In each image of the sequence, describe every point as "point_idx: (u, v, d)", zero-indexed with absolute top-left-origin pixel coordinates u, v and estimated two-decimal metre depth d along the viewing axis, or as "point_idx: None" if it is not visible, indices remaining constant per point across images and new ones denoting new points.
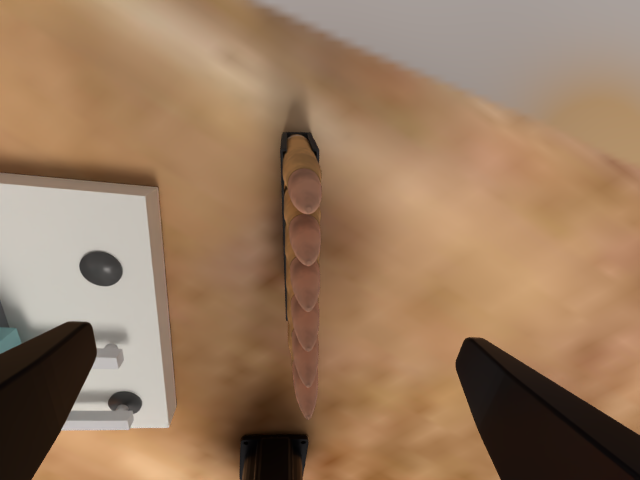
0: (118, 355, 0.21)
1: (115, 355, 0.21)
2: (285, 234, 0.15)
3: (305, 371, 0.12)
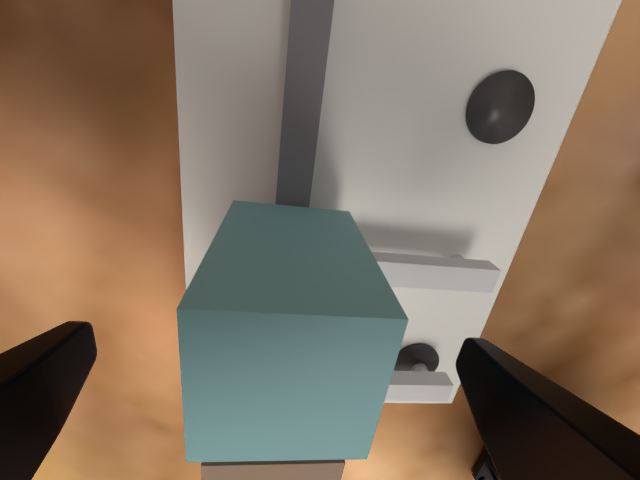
0: None
1: (493, 267, 0.12)
2: None
3: None
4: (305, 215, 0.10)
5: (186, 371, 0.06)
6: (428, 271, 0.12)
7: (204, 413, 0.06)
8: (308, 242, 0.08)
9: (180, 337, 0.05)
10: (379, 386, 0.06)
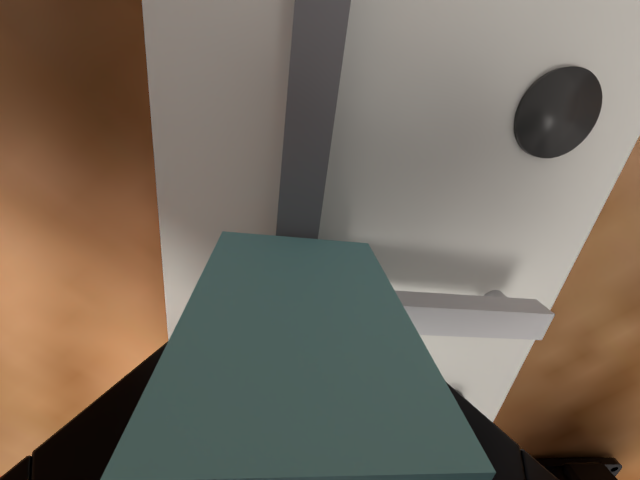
0: None
1: (544, 309, 0.10)
2: None
3: None
4: (314, 252, 0.08)
5: None
6: (465, 317, 0.09)
7: None
8: (321, 300, 0.06)
9: None
10: None
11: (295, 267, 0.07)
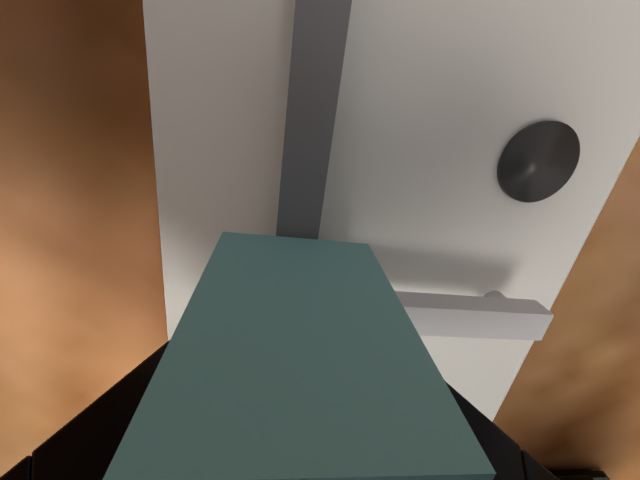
0: (548, 311, 0.10)
1: (544, 310, 0.10)
2: None
3: None
4: (314, 252, 0.08)
5: None
6: (465, 317, 0.09)
7: None
8: (321, 301, 0.06)
9: None
10: None
11: (295, 268, 0.07)
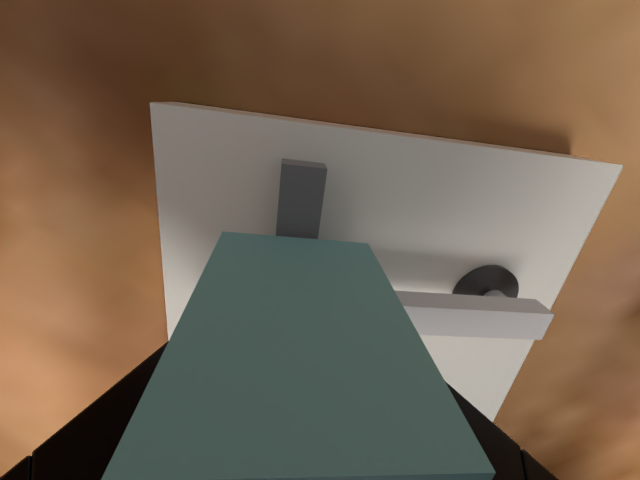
0: None
1: (544, 309, 0.10)
2: None
3: None
4: (314, 251, 0.08)
5: None
6: (465, 317, 0.09)
7: None
8: (321, 300, 0.06)
9: None
10: None
11: (295, 267, 0.07)
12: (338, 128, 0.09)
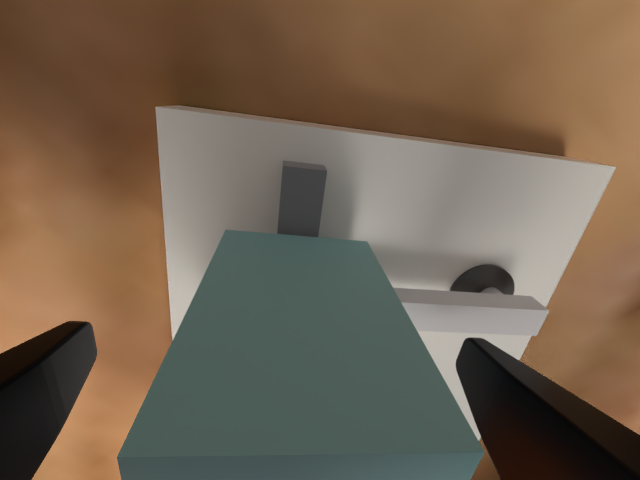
0: None
1: (539, 306, 0.10)
2: None
3: None
4: (314, 249, 0.08)
5: None
6: (462, 313, 0.10)
7: None
8: (321, 295, 0.06)
9: None
10: None
11: (296, 264, 0.07)
12: (338, 131, 0.09)
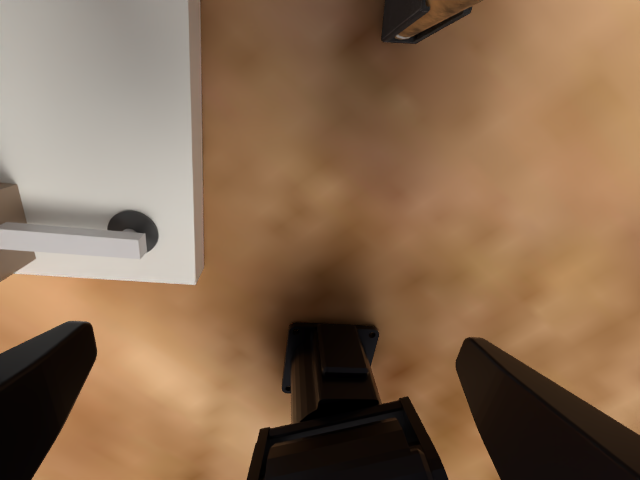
0: None
1: None
2: None
3: None
4: None
5: None
6: None
7: None
8: None
9: None
10: None
11: None
12: None
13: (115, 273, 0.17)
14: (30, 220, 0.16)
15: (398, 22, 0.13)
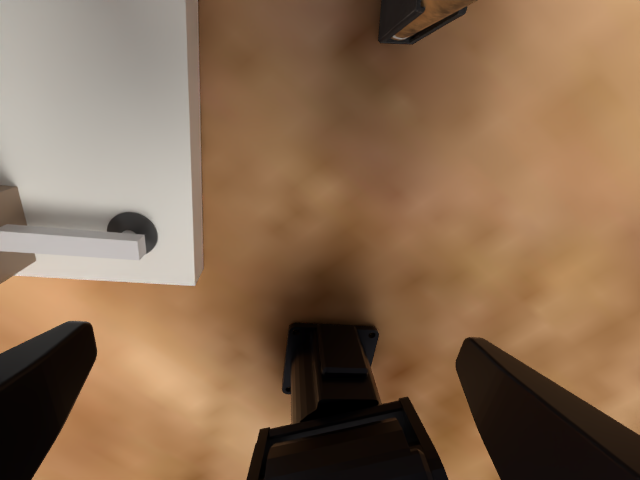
0: None
1: None
2: None
3: None
4: None
5: None
6: None
7: None
8: None
9: None
10: None
11: None
12: None
13: (115, 275, 0.17)
14: (31, 222, 0.16)
15: (394, 23, 0.13)
